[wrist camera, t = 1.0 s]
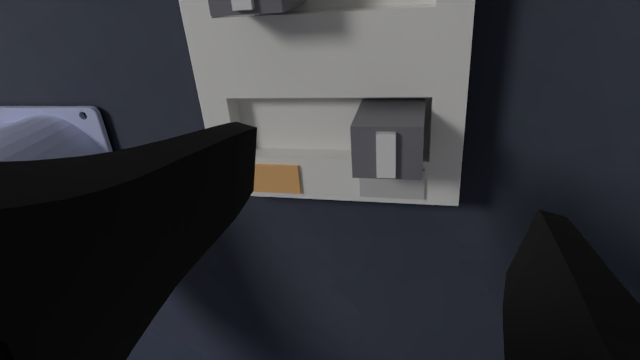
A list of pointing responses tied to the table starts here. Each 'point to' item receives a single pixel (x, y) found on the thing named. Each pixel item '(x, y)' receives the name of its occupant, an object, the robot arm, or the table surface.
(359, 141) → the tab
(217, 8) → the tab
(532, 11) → the table surface
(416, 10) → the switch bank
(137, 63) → the table surface
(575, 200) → the table surface
